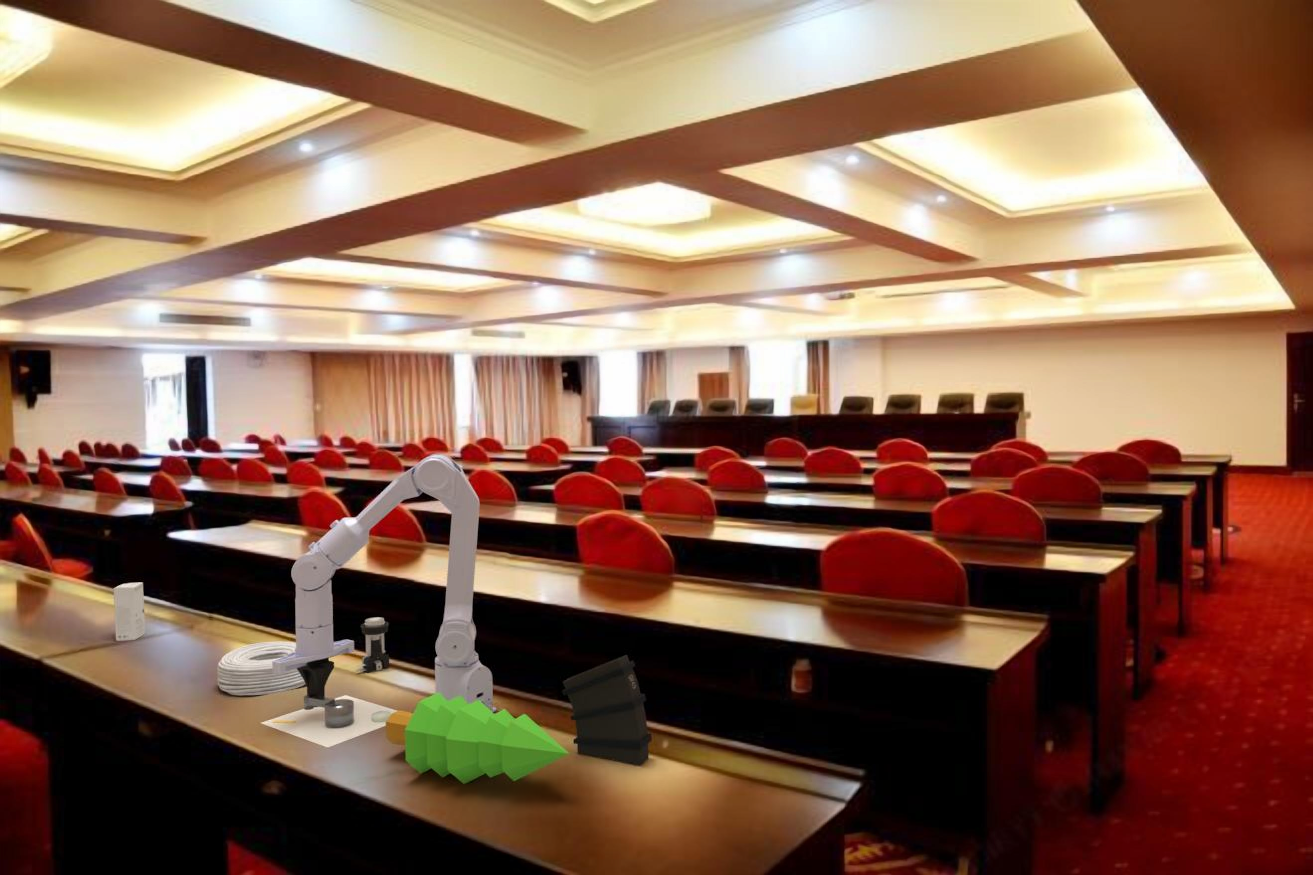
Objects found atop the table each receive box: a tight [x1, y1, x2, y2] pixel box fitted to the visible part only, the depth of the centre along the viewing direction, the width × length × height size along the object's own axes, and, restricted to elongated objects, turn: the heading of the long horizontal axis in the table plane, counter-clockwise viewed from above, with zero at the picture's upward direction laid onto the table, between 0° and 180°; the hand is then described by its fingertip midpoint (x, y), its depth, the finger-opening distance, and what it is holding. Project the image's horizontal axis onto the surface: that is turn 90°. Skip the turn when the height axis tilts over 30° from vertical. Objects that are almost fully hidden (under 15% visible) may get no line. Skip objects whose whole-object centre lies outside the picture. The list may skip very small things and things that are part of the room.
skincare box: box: [113, 582, 146, 642], centre depth 194 cm, size 6×4×12 cm
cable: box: [216, 641, 306, 696], centre depth 162 cm, size 18×18×6 cm
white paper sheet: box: [260, 694, 398, 748], centre depth 139 cm, size 18×16×2 cm
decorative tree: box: [385, 693, 570, 785], centre depth 119 cm, size 11×12×30 cm
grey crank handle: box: [303, 694, 354, 727], centre depth 138 cm, size 10×4×3 cm, turn 66°
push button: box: [355, 616, 390, 673], centre depth 169 cm, size 7×5×10 cm
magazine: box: [561, 654, 653, 766], centre depth 127 cm, size 4×13×15 cm, turn 64°
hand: (315, 705), depth 141 cm, fingers closed, pressing on grey crank handle
